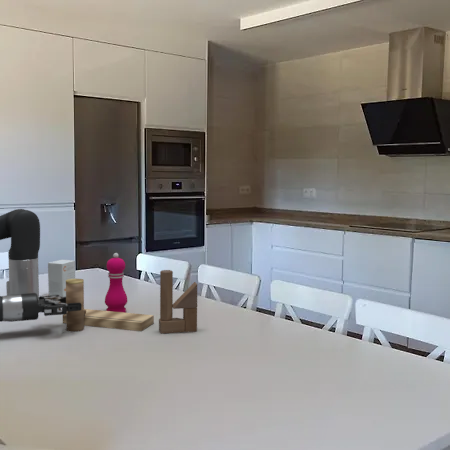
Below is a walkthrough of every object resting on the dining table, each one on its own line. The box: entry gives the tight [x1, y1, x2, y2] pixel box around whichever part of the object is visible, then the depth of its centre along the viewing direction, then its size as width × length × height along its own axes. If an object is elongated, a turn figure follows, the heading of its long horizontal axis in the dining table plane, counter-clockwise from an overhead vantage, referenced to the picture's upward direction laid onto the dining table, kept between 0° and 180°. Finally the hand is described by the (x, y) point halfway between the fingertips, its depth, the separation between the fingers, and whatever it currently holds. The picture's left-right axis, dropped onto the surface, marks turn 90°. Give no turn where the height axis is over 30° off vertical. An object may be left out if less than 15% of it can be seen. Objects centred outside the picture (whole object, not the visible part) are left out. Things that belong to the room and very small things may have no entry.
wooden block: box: [158, 269, 198, 334], centre depth 164 cm, size 4×11×18 cm, turn 105°
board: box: [62, 308, 155, 332], centre depth 172 cm, size 26×9×3 cm, turn 74°
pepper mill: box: [104, 252, 128, 313], centre depth 183 cm, size 7×7×20 cm
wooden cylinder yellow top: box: [65, 278, 86, 333], centre depth 166 cm, size 5×8×15 cm, turn 164°
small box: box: [47, 259, 76, 297], centre depth 207 cm, size 8×6×13 cm
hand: (78, 303), depth 165 cm, fingers open, 8 cm apart
